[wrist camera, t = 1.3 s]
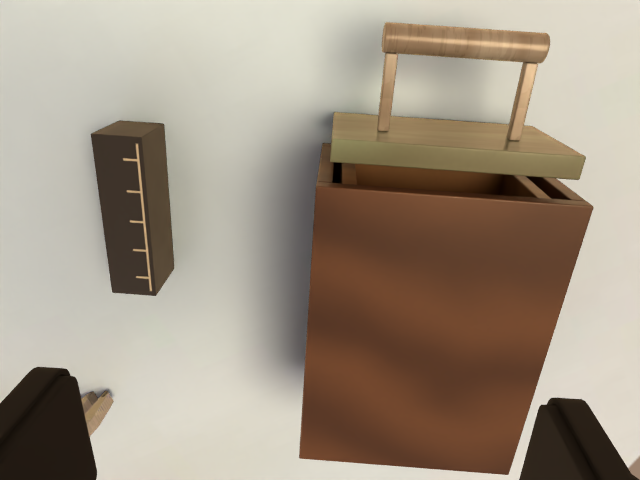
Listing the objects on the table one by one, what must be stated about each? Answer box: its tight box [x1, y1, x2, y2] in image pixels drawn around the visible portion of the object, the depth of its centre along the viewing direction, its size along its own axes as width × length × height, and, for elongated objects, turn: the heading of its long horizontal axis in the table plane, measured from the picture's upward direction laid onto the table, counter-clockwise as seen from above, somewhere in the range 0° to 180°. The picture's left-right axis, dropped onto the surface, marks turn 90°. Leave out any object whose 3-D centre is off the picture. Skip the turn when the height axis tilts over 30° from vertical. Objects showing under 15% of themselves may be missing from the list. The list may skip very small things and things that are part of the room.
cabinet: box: [299, 143, 593, 475], centre depth 32 cm, size 19×14×9 cm
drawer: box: [330, 22, 586, 199], centre depth 30 cm, size 23×12×7 cm, turn 176°
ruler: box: [91, 121, 174, 296], centre depth 32 cm, size 11×3×4 cm, turn 176°
